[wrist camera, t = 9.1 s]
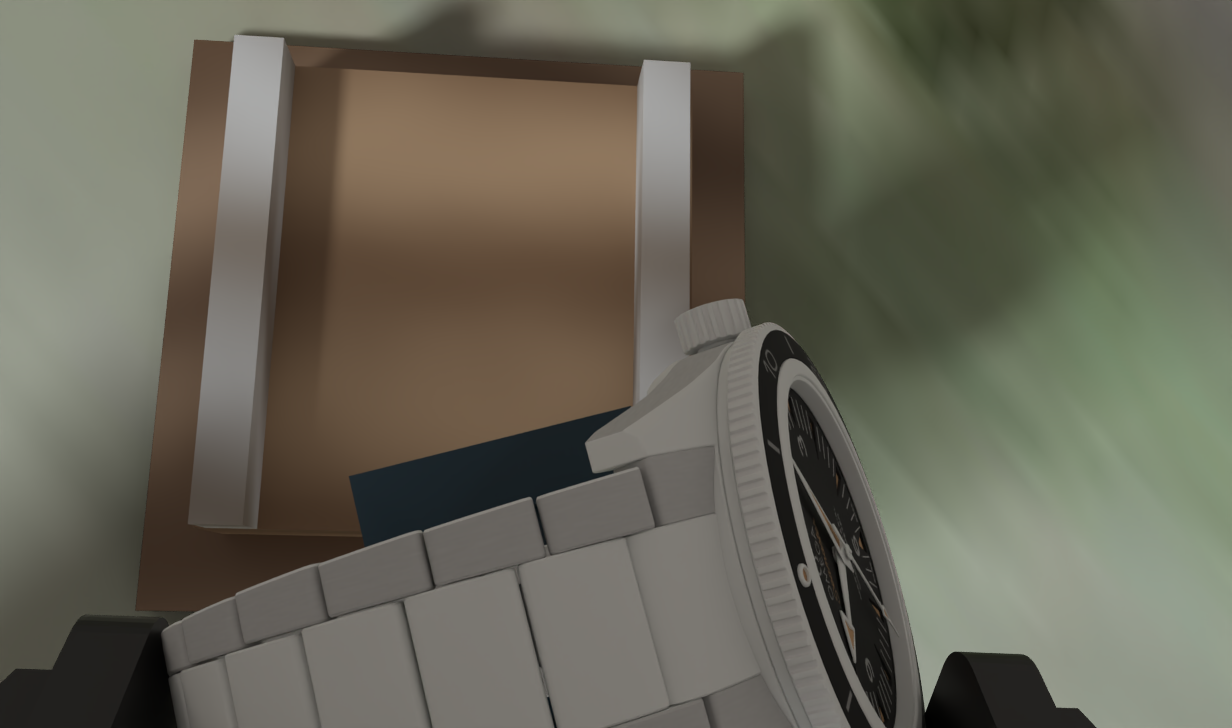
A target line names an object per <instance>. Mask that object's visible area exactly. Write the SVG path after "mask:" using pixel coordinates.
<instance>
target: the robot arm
mask: <svg viewBox="0 0 1232 728" xmlns="http://www.w3.org/2000/svg"><path fill="white" fill-rule="evenodd" d="M168 626H169V625H168V622H167V621H166V619H165V618H160V617H134V616H108V615H84V616H82V617H81V618H80V619H78V621H77V622H76V623H75V625H74V626H73V628H72V630H71V632H70V634H69V636H68V638H67V640H66V642H65V644H64V646H63V648H62V650H61V652H60V654H59V657H58V659H57V661H56V663H55V665H54V667H53V669H52V670H38V669H15V670H14V671H13V672H12V673H11V674H10V675H9V676H8V677H7V678H6V679H5V680H4V681H2V682H1V683H0V728H177V723H176V718H175V713H174V707H173V702H172V697H171V691H170V686H169V681H168V678H169V677H170V676H169V675H168V673H167V667H166V662H165V657H164V652H163V646H162V638H161V633H162V631H163V630H164V629H165V628H167V627H168ZM925 721H926V728H1096V727H1095V726H1094V725H1093V724H1092V723H1091V721H1090V720H1089V719H1088V718H1087V717H1086V716H1085V715H1084V714H1083V713H1082V712H1081V711H1080V710H1079V709H1078V708H1056V706H1055V704H1054V702H1053V700H1052V697H1051V695H1050V693H1049V691H1048V689H1047V687H1046V685H1045V683H1044V681H1043V679H1042V676H1041V674H1040V672H1039V670H1038V669H1037V667H1036V665H1035V664H1034V662H1033V661H1032V660H1031V659H1030V658H1029V657H1028V656H1026V655H1022V654H1001V653H976V652H953V653H951V654H950V655H949V656H948V658H947V659H946V661H945V663H944V665H943V668H942V670H941V673H940V676H939V678H938V681H937V684H936V686H935V689H934V691H933V694H932V697H931V699H930V702H929V704H928V707H927V710H926V712H925Z"/></svg>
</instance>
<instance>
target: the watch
mask: <svg viewBox="0 0 1232 728" xmlns="http://www.w3.org/2000/svg"><path fill="white" fill-rule="evenodd" d="M674 322H675V325H676V329H677V332H678V336H679V339H680V343H681V346H682V350H683V353H684V354H685V355H691V356H688V357H686V358H684V359H682V360H679V361H676V362H674V363H672V364H671V365H669V366H668V367H667V368H666V369H665V371H664V372H662V373H661V374H660V375H659V376H658V377H657V378H656V379H655V380H654V382H653V383H652V384H651V385H650V387H649V388H648V390H647V396H646V397H645V398H643V399H642V400H641V401H639V402H638V403H637V404H635V405H634V406H632V407H631V406H628V407H624V408H620V409H616V410H612V411H608V412H604V413H600V414H596V415H592V416H588V417H584V418H580V419H576V420H572V421H568V422H564V423H560V424H556V425H552V426H548V427H544V428H540V429H536V430H532V431H528V432H524V433H520V434H516V435H512V436H508V437H504V438H500V439H496V440H492V441H488V442H484V443H480V444H476V445H472V446H468V447H464V448H460V449H456V450H452V451H448V452H444V453H440V454H436V455H432V456H428V457H424V458H420V459H416V460H412V461H408V462H404V463H400V464H396V465H392V466H388V467H384V468H380V469H376V470H372V471H368V472H364V473H360V474H356V475H352V476H349V480H350V485H351V489H352V493H353V498H354V502H355V507H356V511H357V516H358V520H359V524H360V529H361V533H362V538H363V542H364V547H365V548H362V549H359V550H356V551H353V552H351V553H348V554H345V555H342V556H339V557H336V558H334V559H331V560H328V561H325V562H322V563H316V564H311V565H308V566H305V567H302V568H299V569H296V570H294V571H291V572H288V573H286V574H283V575H280V576H278V577H275V578H272V579H270V580H267V581H265V582H262V583H260V584H257V585H255V586H252V587H250V588H247V589H245V590H242V591H240V592H238V593H236V595H235V596H234V597H230V598H227V599H225V600H222V601H220V602H217V603H215V604H213V605H211V606H208V607H206V608H204V609H202V610H200V611H197V612H195V613H193V614H191V615H189V616H187V617H185V618H184V619H183V620H181V621H178V622H175V623H173V624H172V625H170V626H168V627H167V628H165V629H164V630H163V631H162V633H161V638H162V646H163V652H164V657H165V662H166V667H167V673H168V675H169V676H170V677H169V678H168V681H169V686H170V691H171V697H172V702H173V707H174V713H175V718H176V723H177V728H926V721H925V709H924V700H923V693H922V686H921V679H920V673H919V668H918V662H917V656H916V651H915V646H914V641H913V636H912V632H911V627H910V623H909V618H908V614H907V610H906V606H905V602H904V598H903V594H902V590H901V586H900V582H899V578H898V575H897V571H896V567H895V564H894V560H893V557H892V553H891V550H890V547H889V543H888V540H887V537H886V533H885V530H884V527H883V524H882V521H881V518H880V515H879V512H878V509H877V506H876V503H875V500H874V497H873V494H872V492H871V489H870V486H869V483H868V481H867V478H866V475H865V472H864V470H863V467H862V465H861V462H860V459H859V457H858V454H857V452H856V449H855V447H854V445H853V442H852V440H851V437H850V435H849V433H848V430H847V428H846V426H845V424H844V421H843V419H842V417H841V415H840V413H839V411H838V408H837V406H836V404H835V402H834V400H833V398H832V396H831V394H830V392H829V391H828V389H827V387H826V385H825V383H824V381H823V379H822V378H821V376H820V374H819V373H818V371H817V369H816V368H815V366H814V365H813V363H812V362H811V360H810V359H809V357H808V356H807V354H806V353H805V352H804V350H803V349H802V348H801V347H800V346H799V344H798V343H797V342H796V341H795V339H794V338H793V337H792V336H791V335H790V334H789V333H788V332H787V331H786V330H785V329H783V328H782V327H780V326H779V325H777V324H775V323H772V322H771V323H770V322H768V323H767V322H766V323H763V324H760V325H757V326H754V327H751V324H750V321H749V317H748V314H747V311H746V307H745V304H744V301H743V300H742V299H725V300H720V301H715V302H711V303H707V304H704V305H701V306H698V307H696V308H693V309H691V310H688V311H686V312H684V313H682V314H681V315H680V316H678V317H676V319H675V321H674Z"/></svg>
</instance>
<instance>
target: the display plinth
mask: <svg viewBox="0 0 1232 728" xmlns="http://www.w3.org/2000/svg"><path fill="white" fill-rule="evenodd" d="M725 299H742V300H743V301H744V304H745V223H744V88H743V73H738V72H721V71H705V70H690V63H689V62H672V61H656V60H644V61H643V65H642V67H639V66H622V65H605V64H589V63H572V62H556V61H539V60H523V59H506V58H489V57H473V56H456V55H440V54H423V53H407V52H390V51H373V50H357V49H340V48H324V47H307V46H291V45H287V44H286V41H285V39H284V38H278V37H262V36H245V35H234V42H224V41H208V40H194V48H193V58H192V68H191V77H190V87H189V96H188V106H187V116H186V125H185V135H184V145H183V154H182V164H181V174H180V183H179V193H178V203H177V212H176V222H175V232H174V241H173V251H172V261H171V270H170V280H169V290H168V299H167V309H166V319H165V328H164V338H163V348H162V357H161V367H160V377H159V386H158V396H157V406H156V415H155V425H154V435H153V444H152V454H151V464H150V473H149V483H148V493H147V502H146V512H145V522H144V531H143V541H142V551H141V560H140V570H139V580H138V589H137V599H136V609H135V611H200V610H202V609H204V608H206V607H208V606H211V605H213V604H215V603H217V602H220V601H222V600H225V599H227V598H230V597H234V596H235V595H236V593H238V592H240V591H242V590H245V589H247V588H250V587H252V586H255V585H257V584H260V583H262V582H265V581H267V580H270V579H272V578H275V577H278V576H280V575H283V574H286V573H288V572H291V571H294V570H296V569H299V568H302V567H305V566H308V565H311V564H316V563H322V562H325V561H328V560H331V559H334V558H336V557H339V556H342V555H345V554H348V553H351V552H353V551H356V550H359V549H362V548H365V547H364V542H363V538H362V533H361V529H360V524H359V520H358V516H357V511H356V507H355V502H354V498H353V493H352V489H351V485H350V480H349V476H352V475H356V474H360V473H364V472H368V471H372V470H376V469H380V468H384V467H388V466H392V465H396V464H400V463H404V462H408V461H412V460H416V459H420V458H424V457H428V456H432V455H436V454H440V453H444V452H448V451H452V450H456V449H460V448H464V447H468V446H472V445H476V444H480V443H484V442H488V441H492V440H496V439H500V438H504V437H508V436H512V435H516V434H520V433H524V432H528V431H532V430H536V429H540V428H544V427H548V426H552V425H556V424H560V423H564V422H568V421H572V420H576V419H580V418H584V417H588V416H592V415H596V414H600V413H604V412H608V411H612V410H616V409H620V408H624V407H628V406H631V407H632V406H634V405H635V404H637V403H638V402H639V401H641V400H642V399H643V398H645V397H646V396H647V390H648V388H649V387H650V385H651V384H652V383H653V382H654V380H655V379H656V378H657V377H658V376H659V375H660V374H661V373H662V372H664V371H665V369H666V368H667V367H668V366H669V365H671V364H672V363H674V362H676V361H679V360H682V359H684V358H686V357H688V356H691V355H685V354H684V353H683V350H682V346H681V343H680V339H679V336H678V332H677V329H676V325H675V322H674V321H675V319H676V317H678V316H680V315H681V314H682V313H684V312H686V311H688V310H691V309H693V308H696V307H698V306H701V305H704V304H707V303H711V302H715V301H720V300H725Z"/></svg>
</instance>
